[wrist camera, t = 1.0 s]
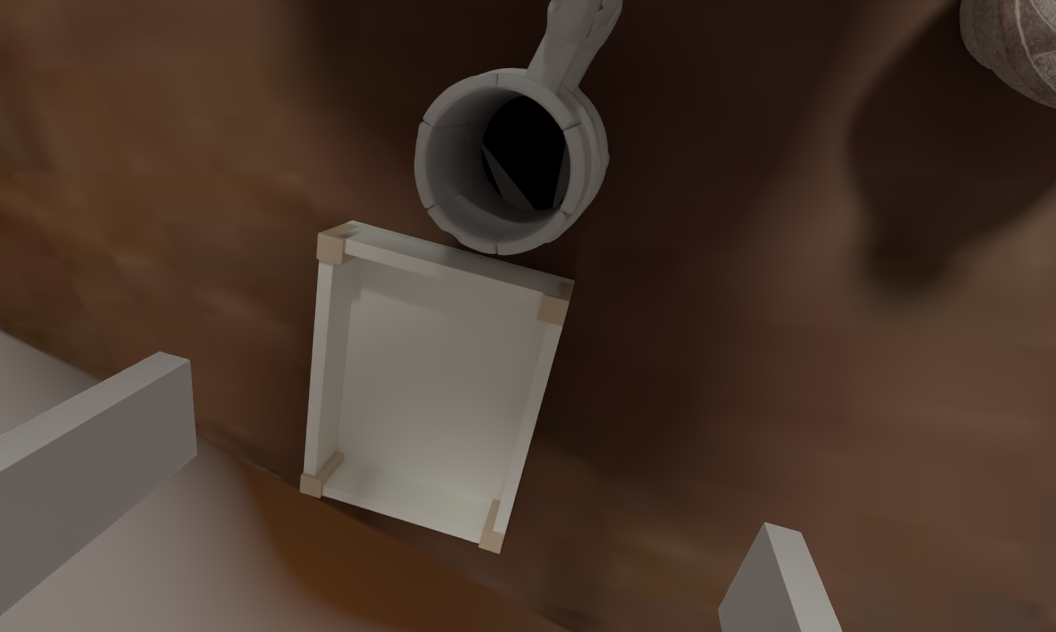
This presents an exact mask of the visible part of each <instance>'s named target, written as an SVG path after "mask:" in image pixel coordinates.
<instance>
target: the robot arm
mask: <svg viewBox="0 0 1056 632" xmlns="http://www.w3.org/2000/svg"><path fill="white" fill-rule="evenodd" d="M196 455H197V447H196V434H195V420H194V407H193V394H192V380H191V367H190V360H188V359H184V358H181V357H177V356H174V355H170V354H167V353H163V352H160V351H159V352H157V353H156V354H154V355H152V356H150V357H148V358H146V359H144V360H142V361H140V362H139V363H137V364H135V365H133V366H131V367H129V368H127V369H125V370H124V371H122V372H120V373H118V374H116V375H114V376H112V377H110V378H108V379H107V380H105V381H103V382H101V383H99V384H97V385H95V386H94V387H92V388H90V389H88V390H86V391H84V392H82V393H80V394H78V395H76V396H74V397H73V398H71V399H69V400H67V401H65V402H63V403H61V404H59V405H57V406H56V407H54V408H52V409H50V410H48V411H46V412H44V413H42V414H41V415H39V416H37V417H35V418H33V419H31V420H29V421H27V422H25V423H24V424H22V425H20V426H18V427H16V428H14V429H12V430H10V431H8V432H7V433H5V434H3V435H1V436H0V616H1V615H2V614H3V613H4V612H6V611H7V610H8V609H9V608H10V607H12V606H13V605H14V604H15V603H17V602H18V601H19V600H20V599H21V598H23V597H24V596H25V595H26V594H27V593H29V592H30V591H31V590H32V589H34V588H35V587H36V586H37V585H39V584H40V583H41V582H42V581H43V580H45V579H46V578H47V577H48V576H49V575H51V574H52V573H53V572H54V571H56V570H57V569H58V568H59V567H60V566H62V565H63V564H64V563H65V562H67V561H68V560H69V559H70V558H71V557H73V556H74V555H75V554H76V553H77V552H79V551H80V550H81V549H82V548H84V547H85V546H86V545H87V544H88V543H90V542H91V541H92V540H93V539H95V538H96V537H97V536H98V535H100V534H101V533H102V532H103V531H104V530H106V529H107V528H108V527H109V526H111V525H112V524H113V523H114V522H115V521H117V520H118V519H119V518H120V517H122V516H123V515H124V514H125V513H126V512H128V511H129V510H130V509H131V508H132V507H134V506H135V505H136V504H137V503H138V502H140V501H141V500H142V499H144V498H145V497H146V496H147V495H148V494H150V493H151V492H152V491H153V490H154V489H156V488H157V487H158V486H159V485H160V484H162V483H163V482H164V481H165V480H167V479H168V478H169V477H170V476H172V475H173V474H174V473H175V472H176V471H178V470H179V469H180V468H181V467H182V466H184V465H185V464H186V463H187V462H189V461H190V460H191V459H192V458H193V457H195V456H196ZM718 612H719V618H720V623H721V628H722V632H842V630H841V627H840V625H839V622H838V620H837V618H836V615H835V613H834V610H833V608H832V606H831V603H830V601H829V599H828V596H827V594H826V591H825V589H824V587H823V584H822V582H821V579H820V577H819V575H818V572H817V570H816V567H815V565H814V563H813V560H812V558H811V555H810V553H809V551H808V548H807V546H806V543H805V541H804V539H803V536H802V534H801V532H797V531H794V530H790V529H787V528H783V527H780V526H776V525H773V524H769V523H766V522H764V523H763V525H762V527H761V529H760V531H759V533H758V535H757V537H756V538H755V540H754V542H753V544H752V546H751V548H750V550H749V552H748V554H747V555H746V557H745V559H744V561H743V563H742V565H741V567H740V569H739V571H738V572H737V574H736V576H735V578H734V580H733V582H732V584H731V586H730V588H729V589H728V591H727V593H726V595H725V597H724V599H723V601H722V603H721V605H720V606H719V608H718Z"/></svg>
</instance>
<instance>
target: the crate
mask: <svg viewBox="0 0 1056 632" xmlns="http://www.w3.org/2000/svg"><path fill="white" fill-rule="evenodd" d="M317 259H319V270H318V284H317V297H316V311H315V324H314V338H313V351H312V365H311V378H310V392H309V405H308V419H307V432H306V446H305V459H304V472H303V474H302V475H301V481H300V492H301V493H304V494H307V495H311V496H314V497H317V498H320V497H321V496H322V495H323V496H326V497H330V498H333V499H336V500H339V501H343V502H346V503H349V504H352V505H356V506H359V507H362V508H365V509H369V510H372V511H375V512H378V513H381V514H385V515H388V516H391V517H394V518H398V519H401V520H404V521H407V522H411V523H414V524H417V525H420V526H424V527H427V528H430V529H433V530H437V531H440V532H443V533H446V534H450V535H453V536H456V537H459V538H462V539H466V540H469V541H472V542H475V543H479V548H482V549H485V550H489V551H492V552H495V553H498V554H499V553H500V550H501V546H502V543H503V539H504V535H505V532H506V528H507V524H508V521H509V517H510V514H511V510H512V507H513V503H514V499H515V496H516V492H517V489H518V485H519V481H520V478H521V474H522V471H523V467H524V463H525V460H526V456H527V453H528V449H529V446H530V442H531V438H532V435H533V431H534V428H535V424H536V420H537V417H538V413H539V410H540V406H541V402H542V399H543V395H544V392H545V388H546V385H547V381H548V377H549V374H550V370H551V367H552V363H553V359H554V356H555V352H556V349H557V345H558V341H559V338H560V334H561V331H562V327H563V324H564V320H565V316H566V313H567V309H568V306H569V302H570V298H571V294H572V291H573V287H574V283H575V280H571V279H567V278H564V277H560V276H556V275H553V274H549V273H545V272H542V271H538V270H534V269H530V268H527V267H523V266H519V265H516V264H512V263H508V262H505V261H501V260H497V259H493V258H490V257H486V256H482V255H479V254H475V253H471V252H467V251H464V250H460V249H456V248H453V247H449V246H445V245H442V244H438V243H434V242H430V241H427V240H423V239H419V238H416V237H412V236H408V235H405V234H401V233H397V232H393V231H390V230H386V229H382V228H379V227H375V226H371V225H368V224H364V223H360V222H356V221H350V222H347V223H345V224H342V225H339V226H337V227H334V228H331V229H328V230H326V231H323V232H320V233H318V244H317Z"/></svg>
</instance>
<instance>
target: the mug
mask: <svg viewBox="0 0 1056 632" xmlns="http://www.w3.org/2000/svg"><path fill="white" fill-rule="evenodd" d="M622 2H623V0H551V2H550V4H549V6H548V13H547V21H548V23H547V29H546V33H545V35H544V37H543V39H542V41H541V43H540V45H539V47H538V49H537V51H536V54H535V56H534V57H533V59H532V61H531V63H530V65H529V67H528V69H519V68H505V69H498V70H493V71H489V72H486V73H483V74H480V75H477V76H471V77H469V78H466V79H464V80H461V81H459V82H457V83H456V84H454V85H452V86H451V87H449V88H448V89H446V90H445V91H444V92H443V93H442V94H441V95H440V96H439V97H438V98H437V99H436V100H435V101H434V102H433V103H432V104H431V106H430V107H429V109H428V110H427V112H426V113H425V115H424V117H423V120H424V121H425V122H421V123H420V126H419V129H418V137H417V141H416V151H415V160H414V173H415V180H416V185H417V189H418V193H419V196H420V199H421V201H422V203H423V205H424V207H425V208H429V210H428V211H427V212H428V213H429V215H430V216H431V217H432V219H433V220H434V221H435V222H436V224H437V225H438V226H439V227H440V228H441V229H442V230H444V231H447V232H449V233H451V234H452V235H454V236H455V237H456V238H457V239H458V241H459V242H460V243H462V244H464V245H465V246H467V247H470V248H472V249H475V250H477V251H480V252H483V253H490V254H496V253H498V254H499V255H511V254H517V253H522V252H525V251H528V250H531V249H534V248H536V247H538V246H540V245H542V244H543V243H545V242H546V243H549V242H551V241H553V240H555V239H557V238H558V237H559V236H560V235H561V234H562V233H563V232H564V231H565V230H567V229H568V228H569V227H570V226H571V225H572V224H573V223H574V222H575V221H576V220H577V219H578V218H579V216H580V215H581V214H582V212H583V211H584V210H585V209H586V208H587V207H588V206H589V204H590V203H591V202H592V200H593V199H594V198H595V196H596V194H597V193H598V191H599V189H600V187H601V184H602V182H603V180H604V176H605V172H606V168H607V167H608V164H609V154H608V143H607V136H606V132H605V128H604V125H603V122H602V120H601V118H600V115H599V113H598V112H597V110H596V108H595V107H594V105H593V104H592V102H591V101H590V100H589V99H588V97H587V96H586V95H585V94H584V93H583V92H581V91H580V88H579V87H578V85H579V83H580V81H581V79H582V77H583V76H584V74H585V72H586V70H587V68H588V67H589V65H590V63H591V61H592V60H593V58H594V56H595V55H596V53H597V51H598V50H599V48H600V47H601V46H602V45H603V44H604V43H605V41H606V40H607V38H608V36H609V35H610V33H611V31H612V30H613V28H614V26H615V24H616V22H617V20H618V18H619V15H620V13H621V10H622ZM523 95H526V96H528V97H530V98H531V99H533V100H535V101H536V102H538V103H539V104H540V105H541V106H543V107H544V108H545V109H546V110H547V111H548V112H549V113H550V114H551V115H552V116H553V118H554V119H555V120H556V122H557V123H558V125H559V126H560V128H561V129H562V130H563V131H564V136H565V139H566V145H565V150H564V154H563V159H562V164H561V169H560V174H559V179H558V183H557V188H556V193H555V198H554V203H553V208H550V209H545V210H535V209H534V207H533V206H532V205H531V204H530V202H529V201H528V200H527V199H526V197H525V196H524V195H523V194H522V192H521V191H520V190H519V189H518V187H517V186H516V185H515V183H514V182H513V181H512V180H511V178H510V177H509V176H508V175H507V173H506V172H505V171H504V170H503V168H502V167H501V166H500V165H499V163H498V162H497V161H496V160H495V158H494V157H493V156H492V154H491V153H490V152H489V151H488V149H487V148H486V147H485V146H484V144H483V143H482V141H483V136H484V133H485V131H486V129H487V127H488V122H490V121H491V119H492V117H493V116H494V114H495V113H496V112H497V111H498V110H499V109H500V108H501V107H502V106H503V105H504V104H506V103H507V102H509V101H510V100H512V99H514V98H517V97H519V96H523ZM482 150H483V152H484V155H485V157H486V159H487V162H488V164H489V167H490V169H491V171H492V174H493V176H494V178H495V181H496V183H497V186H498V188H499V190H500V193H501V195H502V197H501V196H500V195H499V194H498V193H497V192H496V190H495V189H494V188H493V186H492V184H491V183H490V182H489V181H488V177H487V175H486V173H485V170H484V167H483V163H482ZM565 194H566V196H565ZM564 196H565V198H564V201H563V203H562V204H560V205H559V203H560V202H561V200H562V199H563V197H564ZM430 207H431V208H430Z"/></svg>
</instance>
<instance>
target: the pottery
mask: <svg viewBox="0 0 1056 632" xmlns="http://www.w3.org/2000/svg"><path fill="white" fill-rule="evenodd" d="M959 21H960V31H961V36H962V40H963V42H964V44H965V47H966V48H967V50H968V51H969V53H970V54H971V55H972V56H973V57H974V58H975V59H976V61H977V62H978V63H980V64H981V65H983V66H984V67H986V68H988V69H991V70H992V71H993V72H994V73H995V75H996V76H997V77H999V78H1000V79H1001V80H1003V82H1005V83H1006V84H1008V85H1009V86H1010V87H1011V88H1013V89H1015V90H1016V91H1017V92H1020V93H1021V94H1023V95H1024V96H1026V97H1028V98H1031V99H1032V100H1034V101H1036V102H1038V103H1041V104H1043V105H1046V106H1049V107H1052V108H1055V109H1056V0H962V1H961V5H960V20H959Z"/></svg>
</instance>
